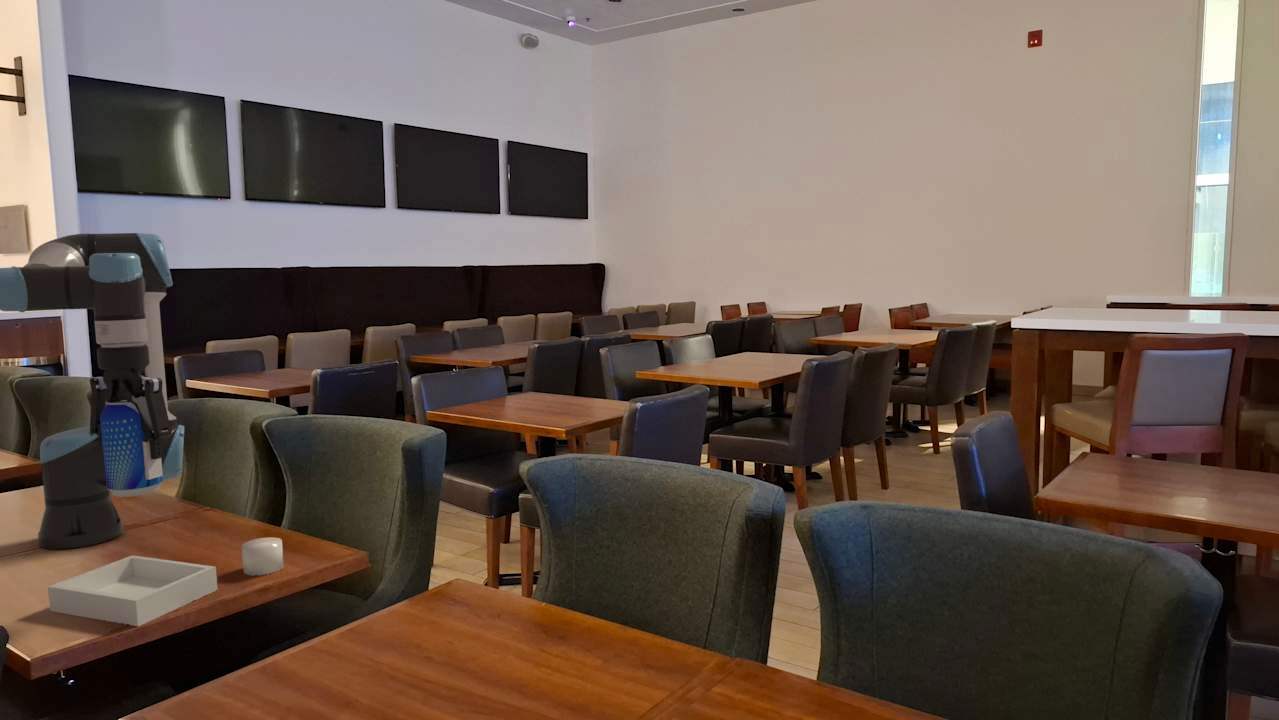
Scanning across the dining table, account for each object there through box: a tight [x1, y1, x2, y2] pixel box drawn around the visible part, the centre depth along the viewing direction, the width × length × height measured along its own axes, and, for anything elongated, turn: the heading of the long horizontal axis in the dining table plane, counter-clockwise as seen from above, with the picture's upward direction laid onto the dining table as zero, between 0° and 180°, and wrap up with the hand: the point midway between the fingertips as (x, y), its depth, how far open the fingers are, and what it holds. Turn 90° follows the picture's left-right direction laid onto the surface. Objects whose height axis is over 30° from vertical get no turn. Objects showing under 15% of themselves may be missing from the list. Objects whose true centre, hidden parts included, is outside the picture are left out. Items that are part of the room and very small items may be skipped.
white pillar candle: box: [241, 536, 285, 576], centre depth 164 cm, size 7×7×5 cm
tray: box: [47, 554, 218, 627], centre depth 150 cm, size 20×16×4 cm
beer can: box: [100, 397, 164, 498], centre depth 148 cm, size 8×8×16 cm
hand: (134, 475), depth 149 cm, fingers closed on beer can, 8 cm apart
